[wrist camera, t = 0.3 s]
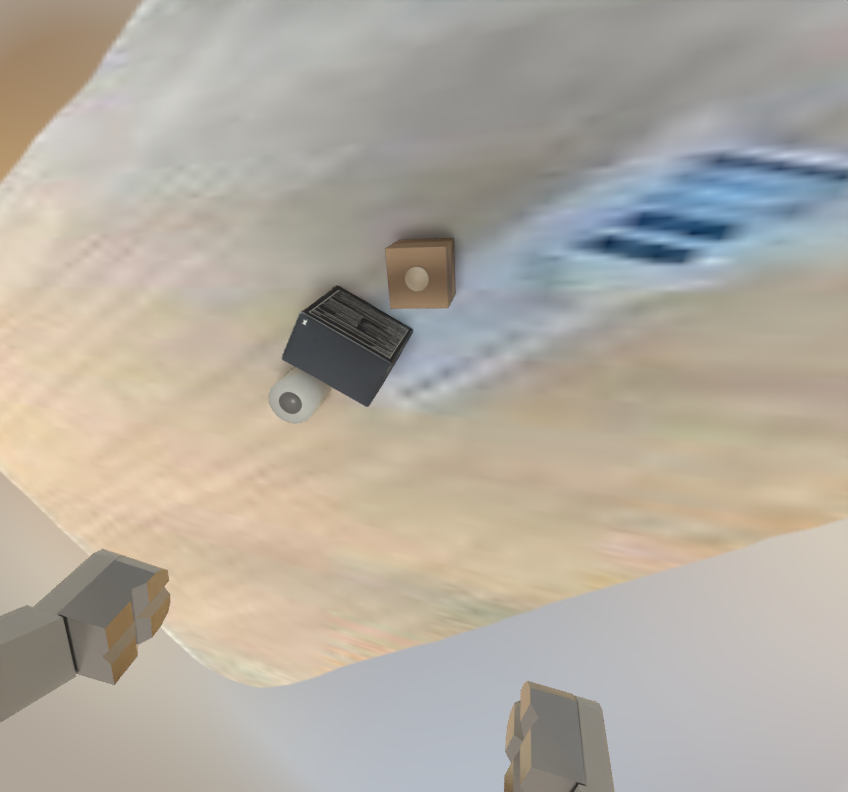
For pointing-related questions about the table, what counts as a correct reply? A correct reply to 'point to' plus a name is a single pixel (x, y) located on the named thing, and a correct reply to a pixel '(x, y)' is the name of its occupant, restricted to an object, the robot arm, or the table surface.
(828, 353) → the table surface
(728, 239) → the table surface
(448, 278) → the walnut cube
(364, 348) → the small box
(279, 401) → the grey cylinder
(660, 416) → the table surface
